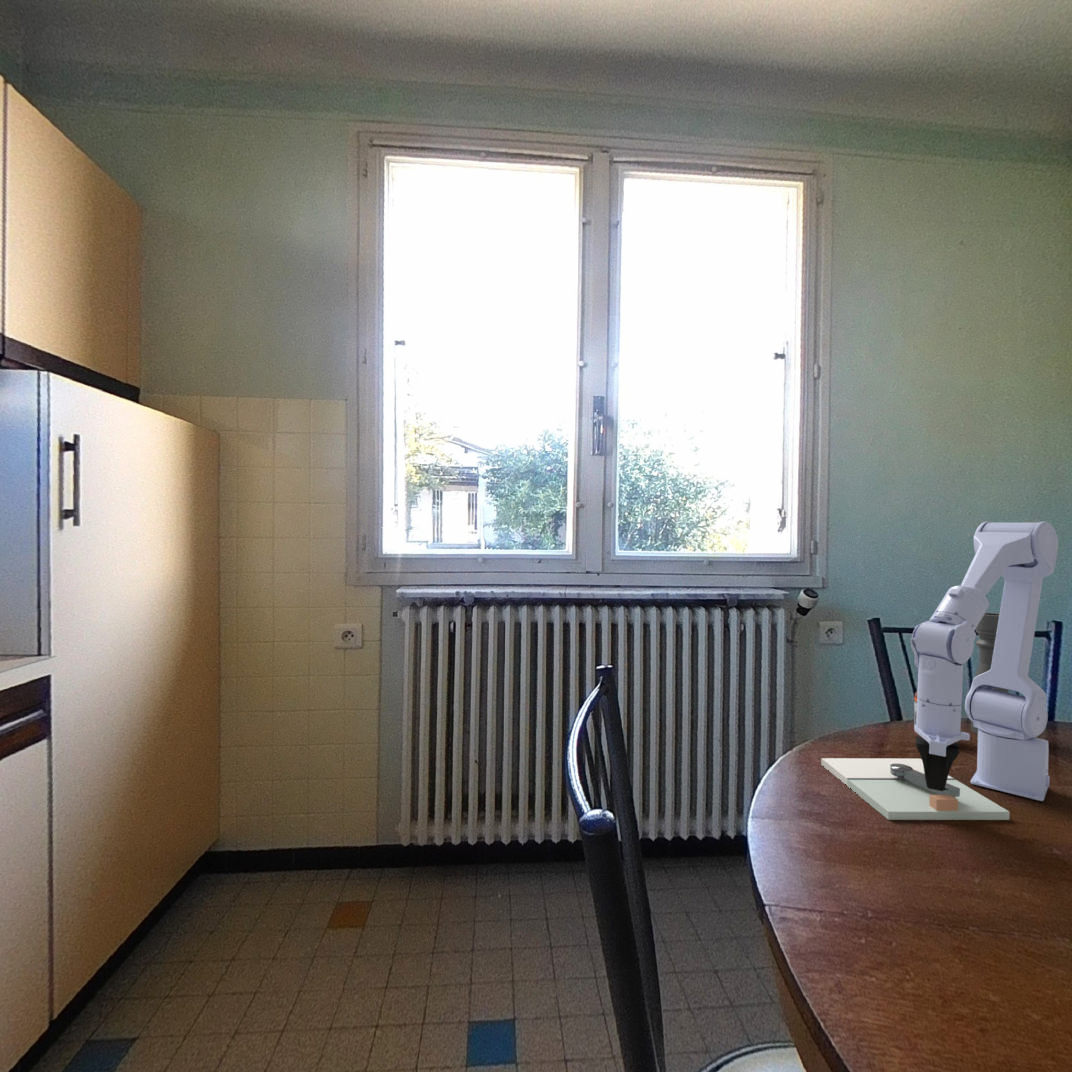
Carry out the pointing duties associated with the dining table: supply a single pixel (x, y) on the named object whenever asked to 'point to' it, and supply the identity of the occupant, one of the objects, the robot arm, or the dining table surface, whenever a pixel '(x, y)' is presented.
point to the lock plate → (909, 792)
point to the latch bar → (920, 778)
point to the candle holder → (986, 647)
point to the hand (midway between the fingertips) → (935, 788)
